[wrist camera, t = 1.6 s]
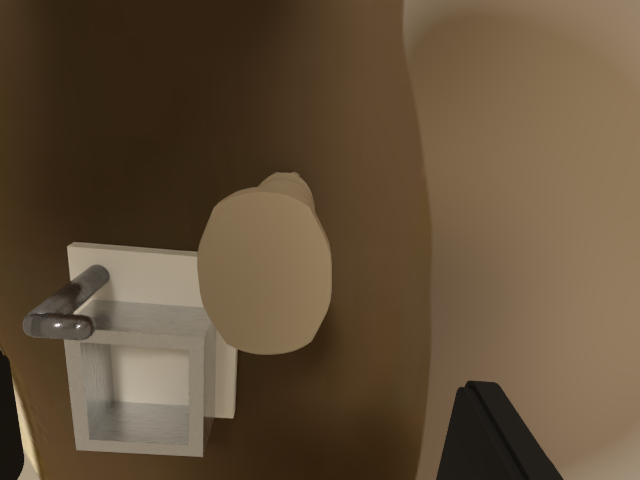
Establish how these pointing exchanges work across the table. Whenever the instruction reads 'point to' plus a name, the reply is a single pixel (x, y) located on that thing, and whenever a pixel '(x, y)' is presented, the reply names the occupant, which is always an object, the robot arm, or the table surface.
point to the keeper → (138, 350)
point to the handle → (266, 267)
